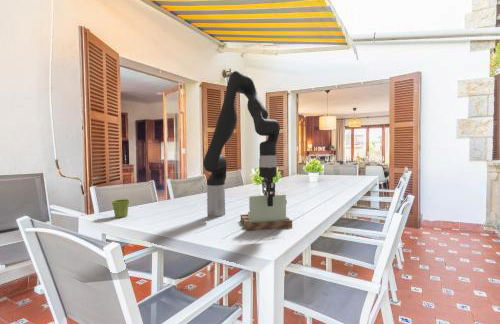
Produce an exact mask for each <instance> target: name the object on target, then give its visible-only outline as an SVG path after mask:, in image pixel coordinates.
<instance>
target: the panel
mask: <svg viewBox="0 0 500 324" xmlns="http://www.w3.org/2000/svg"><path fill="white" fill-rule="evenodd" d="M248 197H249V198H248V200H249V201H248V202H249V204H248V205H249V211H250V223H251V222H267V221H282V220H286V217H287V204H286V200H287V195H286V194H281V195H275V197H273V206H268V205H267V198H268V197H267V195H249V196H248ZM249 211H248V212H249Z"/></svg>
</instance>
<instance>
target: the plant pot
mask: <svg viewBox="0 0 500 324" xmlns="http://www.w3.org/2000/svg"><path fill="white" fill-rule="evenodd" d="M130 201H131V200H130V199H125V198H123V199H116V200H111V201H110V203H111V205H112V207H113V212H114V217H115V218H118V219H119V218H126V217H128V215H129V214H128V212H129V204H130Z"/></svg>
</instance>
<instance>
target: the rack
mask: <svg viewBox="0 0 500 324" xmlns="http://www.w3.org/2000/svg"><path fill="white" fill-rule="evenodd" d="M240 223H241V224H242V225H243V227H244V229H245V230H246V231H248V232H253V231H267V230H281V229H293V220H292V219H290V218H289V217H288V216H286V220H282V221H267V222H251V223H250V219H248V213H247V214H240Z"/></svg>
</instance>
